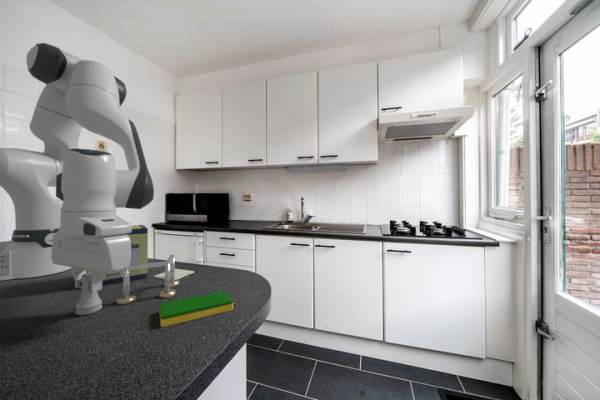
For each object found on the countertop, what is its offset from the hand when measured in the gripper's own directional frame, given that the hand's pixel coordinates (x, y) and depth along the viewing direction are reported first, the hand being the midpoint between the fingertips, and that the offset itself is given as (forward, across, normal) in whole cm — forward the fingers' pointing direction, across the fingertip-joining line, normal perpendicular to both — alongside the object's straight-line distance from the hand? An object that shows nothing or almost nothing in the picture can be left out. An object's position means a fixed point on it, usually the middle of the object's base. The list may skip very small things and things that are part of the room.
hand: (88, 288), depth 50 cm
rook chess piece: (+5, 0, 0) cm, 5 cm away
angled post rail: (+5, +5, +12) cm, 14 cm away
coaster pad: (+5, -3, +25) cm, 25 cm away
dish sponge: (+5, +21, +8) cm, 24 cm away
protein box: (+5, -17, +16) cm, 24 cm away
